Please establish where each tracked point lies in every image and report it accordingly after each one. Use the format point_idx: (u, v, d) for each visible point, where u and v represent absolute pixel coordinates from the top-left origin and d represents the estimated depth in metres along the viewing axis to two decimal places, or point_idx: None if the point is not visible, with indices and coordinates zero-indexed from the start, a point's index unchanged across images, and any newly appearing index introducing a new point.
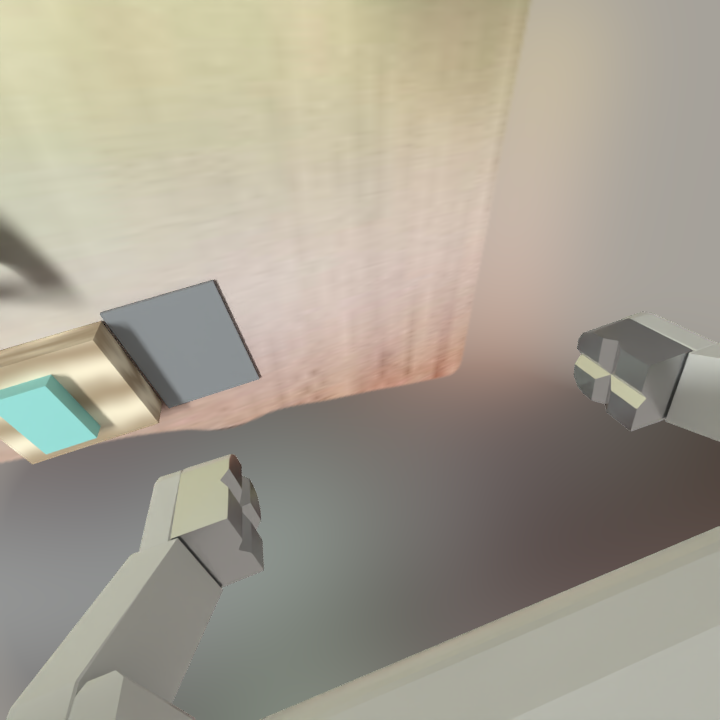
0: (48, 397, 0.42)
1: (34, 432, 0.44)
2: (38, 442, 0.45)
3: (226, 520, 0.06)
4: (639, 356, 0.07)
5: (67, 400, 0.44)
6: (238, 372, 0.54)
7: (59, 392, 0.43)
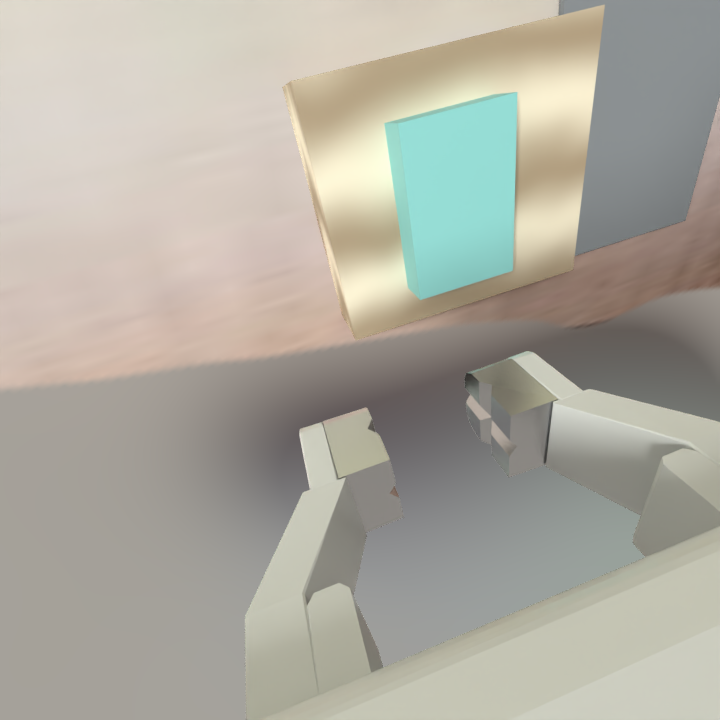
0: (504, 131, 0.19)
1: (433, 233, 0.21)
2: (425, 264, 0.21)
3: (389, 461, 0.07)
4: (506, 404, 0.07)
5: None
6: (669, 199, 0.30)
7: None
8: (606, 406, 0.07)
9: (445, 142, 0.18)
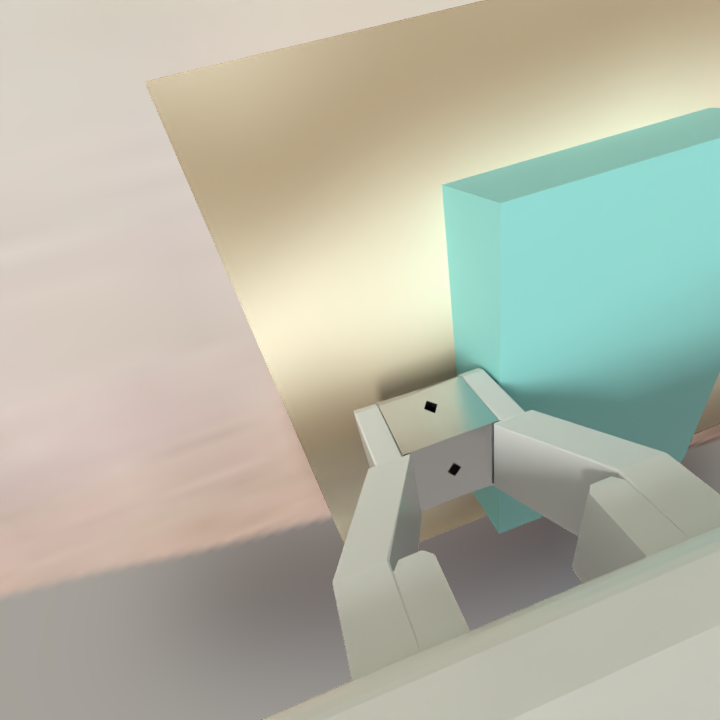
0: None
1: None
2: None
3: (451, 439, 0.07)
4: (448, 424, 0.07)
5: None
6: None
7: None
8: (544, 429, 0.06)
9: (617, 244, 0.07)
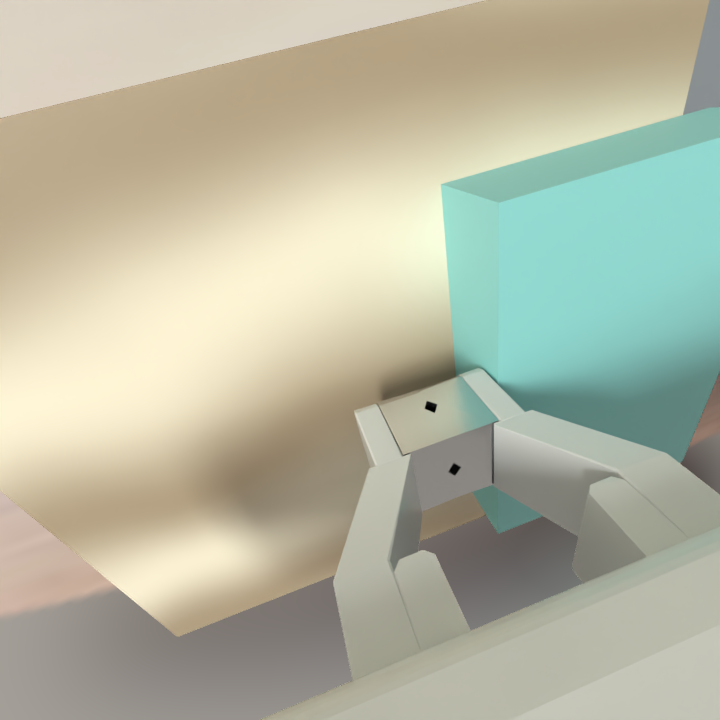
0: None
1: None
2: None
3: (451, 438, 0.07)
4: (448, 424, 0.07)
5: None
6: None
7: None
8: (544, 428, 0.06)
9: (616, 244, 0.07)
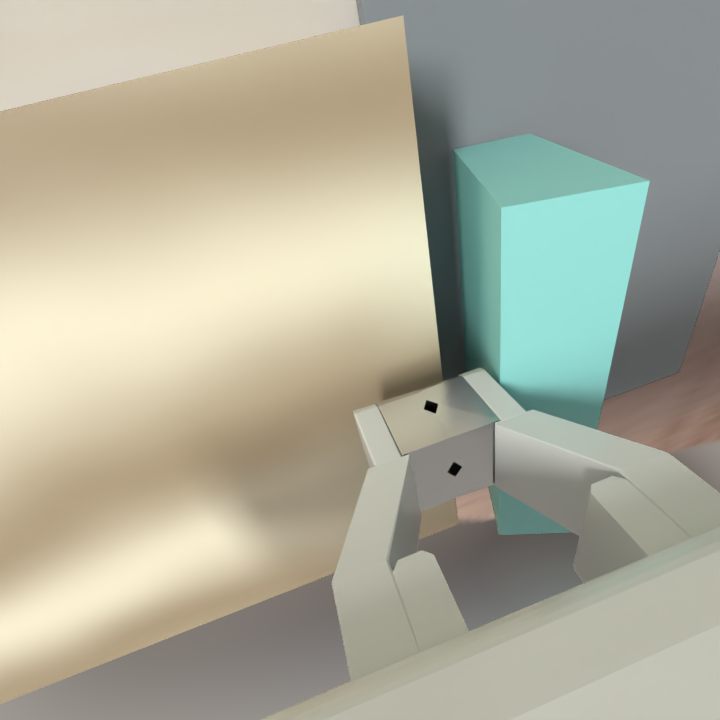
0: None
1: None
2: None
3: (451, 439, 0.07)
4: (449, 424, 0.07)
5: None
6: (650, 349, 0.17)
7: None
8: (545, 427, 0.06)
9: None
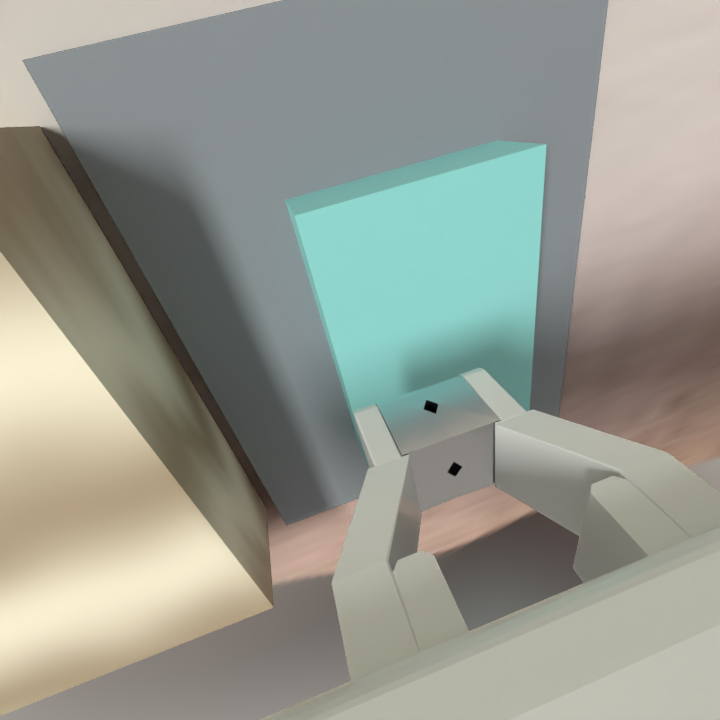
0: None
1: None
2: None
3: (450, 439, 0.07)
4: (449, 424, 0.07)
5: (323, 322, 0.11)
6: None
7: (310, 278, 0.10)
8: (545, 428, 0.06)
9: None
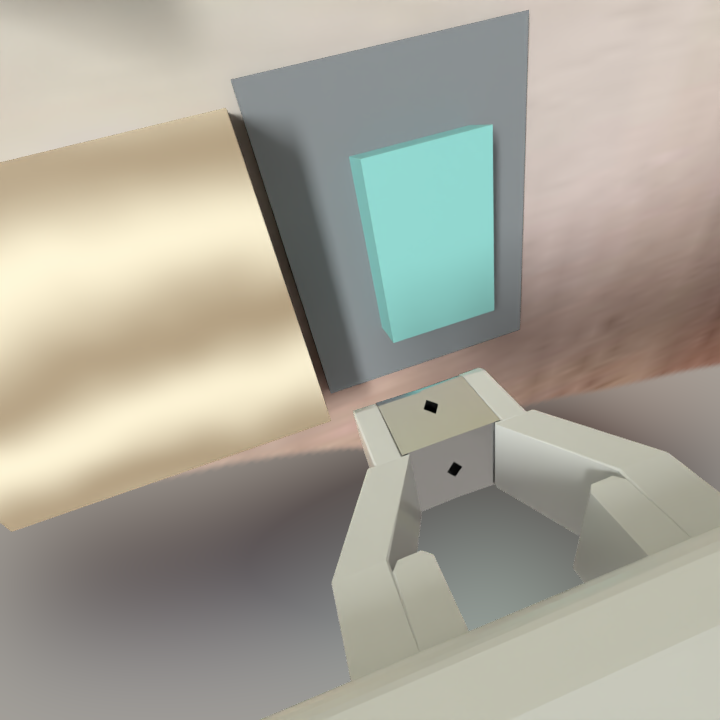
0: None
1: None
2: None
3: (450, 439, 0.07)
4: (449, 424, 0.07)
5: (367, 231, 0.18)
6: None
7: (362, 201, 0.18)
8: (546, 428, 0.06)
9: None
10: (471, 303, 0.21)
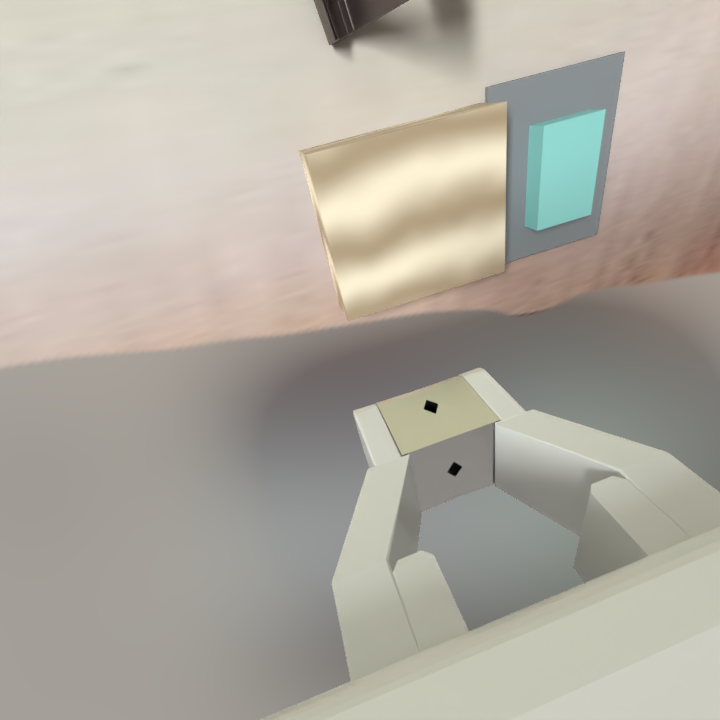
0: None
1: None
2: None
3: (450, 439, 0.07)
4: (449, 424, 0.07)
5: (533, 165, 0.35)
6: (582, 219, 0.41)
7: (534, 149, 0.35)
8: (545, 427, 0.06)
9: None
10: (580, 209, 0.38)
